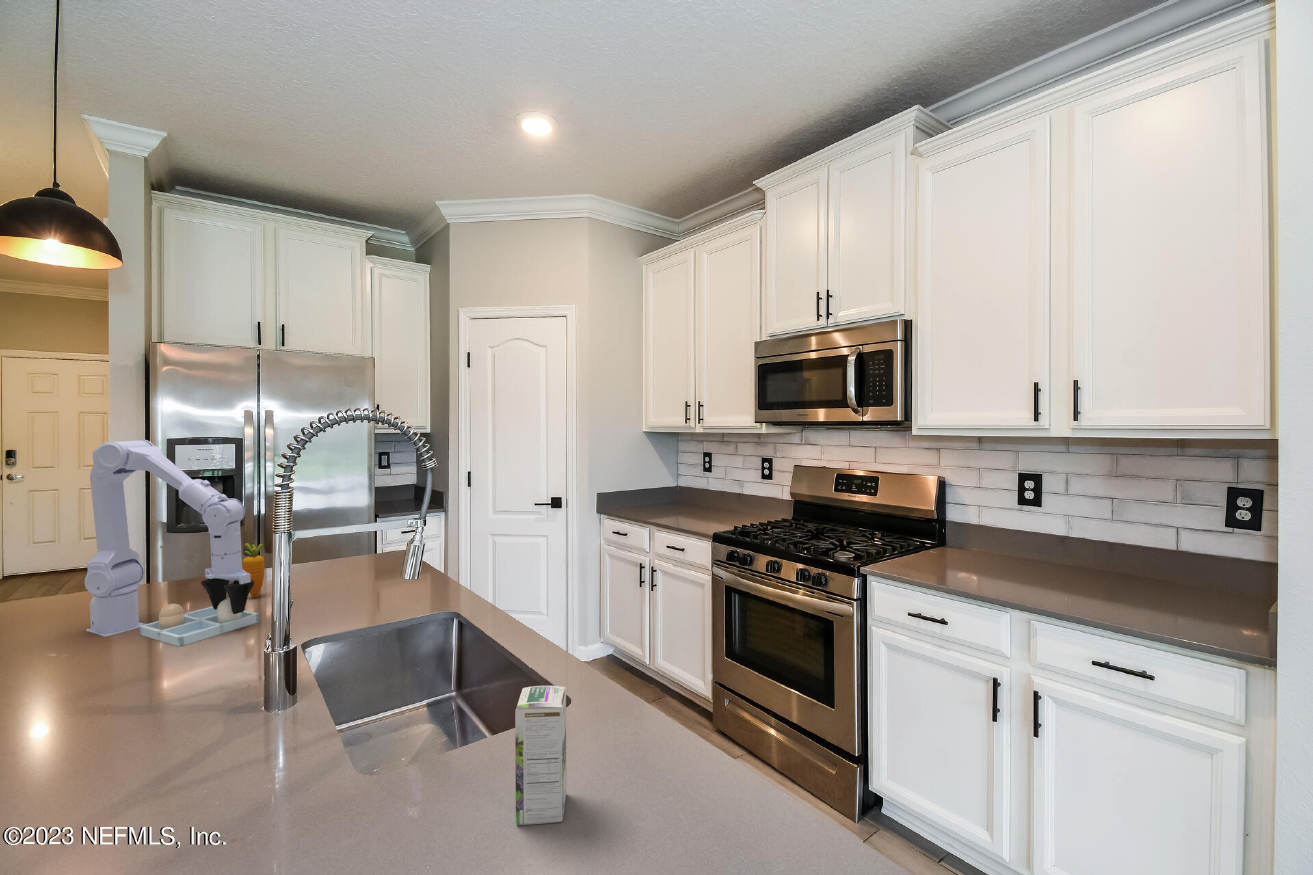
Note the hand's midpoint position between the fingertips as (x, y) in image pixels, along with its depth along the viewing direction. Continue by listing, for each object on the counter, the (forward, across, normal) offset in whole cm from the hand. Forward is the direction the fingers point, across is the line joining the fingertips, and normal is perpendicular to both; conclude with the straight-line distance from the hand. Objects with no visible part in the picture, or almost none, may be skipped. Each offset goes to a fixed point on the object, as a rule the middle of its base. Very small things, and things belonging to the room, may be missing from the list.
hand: (228, 610), depth 140 cm
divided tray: (+4, -4, -4) cm, 7 cm away
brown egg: (+3, -8, -8) cm, 12 cm away
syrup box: (+4, +105, -21) cm, 107 cm away
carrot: (+4, -18, +16) cm, 24 cm away
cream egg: (+3, 0, 0) cm, 3 cm away
